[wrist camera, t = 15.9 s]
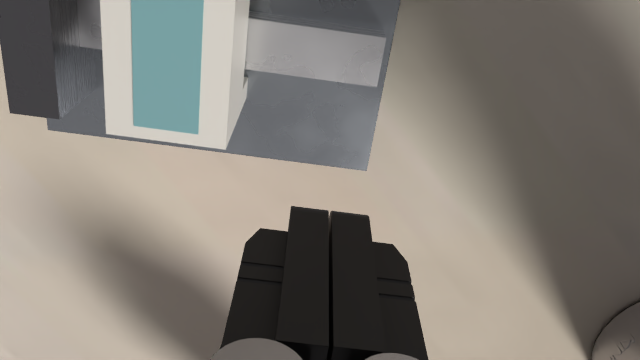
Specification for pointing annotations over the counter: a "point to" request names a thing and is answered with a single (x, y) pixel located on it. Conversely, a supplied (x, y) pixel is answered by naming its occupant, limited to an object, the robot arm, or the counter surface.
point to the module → (174, 69)
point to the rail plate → (260, 67)
